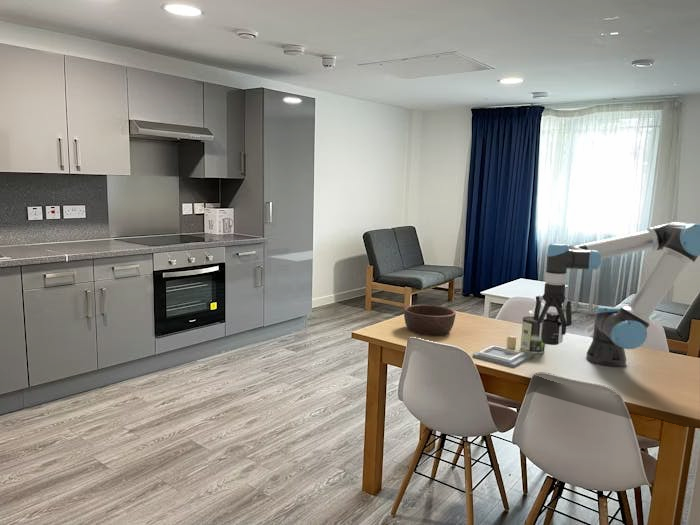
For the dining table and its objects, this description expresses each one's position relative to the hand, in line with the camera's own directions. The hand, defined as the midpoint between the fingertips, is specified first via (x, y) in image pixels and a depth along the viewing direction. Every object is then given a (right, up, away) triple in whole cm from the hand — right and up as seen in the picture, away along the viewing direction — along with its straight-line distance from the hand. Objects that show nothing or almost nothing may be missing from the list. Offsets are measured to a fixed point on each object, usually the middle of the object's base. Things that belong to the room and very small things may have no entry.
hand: (550, 340), depth 210 cm
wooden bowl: (-41, -3, +49) cm, 64 cm away
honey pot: (+11, -5, +47) cm, 49 cm away
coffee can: (+1, -8, +24) cm, 25 cm away
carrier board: (-15, -9, +12) cm, 21 cm away
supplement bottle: (0, -1, 0) cm, 1 cm away
